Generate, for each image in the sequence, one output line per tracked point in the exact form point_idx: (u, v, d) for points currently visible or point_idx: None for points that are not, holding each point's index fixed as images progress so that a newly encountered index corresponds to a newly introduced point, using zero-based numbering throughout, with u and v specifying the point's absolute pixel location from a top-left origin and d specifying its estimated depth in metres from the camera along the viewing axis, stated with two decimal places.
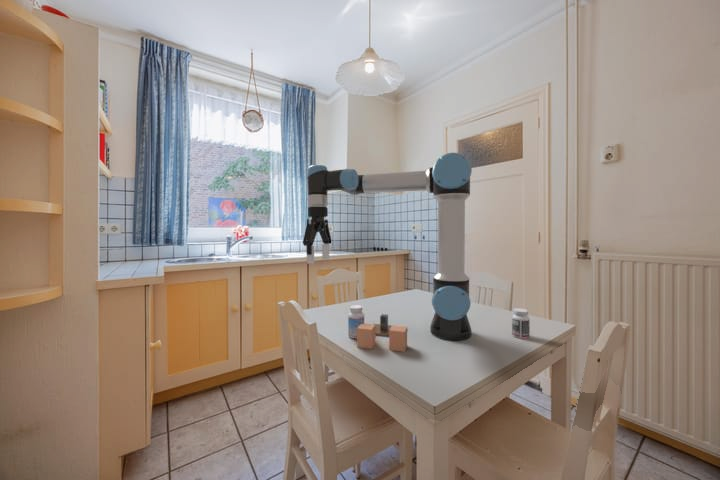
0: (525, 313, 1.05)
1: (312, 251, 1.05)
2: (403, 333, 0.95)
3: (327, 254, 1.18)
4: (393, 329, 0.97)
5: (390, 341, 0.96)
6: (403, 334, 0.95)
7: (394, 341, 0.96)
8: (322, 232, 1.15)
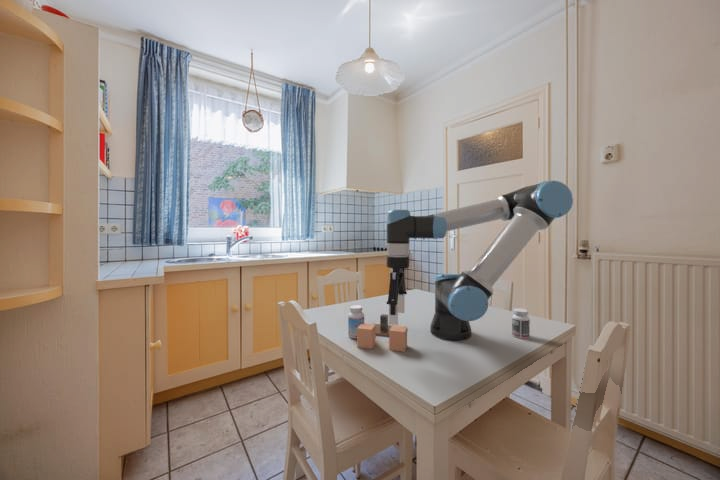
0: (525, 313, 1.05)
1: (396, 311, 0.91)
2: (403, 333, 0.95)
3: (402, 307, 1.04)
4: (393, 329, 0.97)
5: (390, 341, 0.96)
6: (403, 334, 0.95)
7: (394, 341, 0.96)
8: None
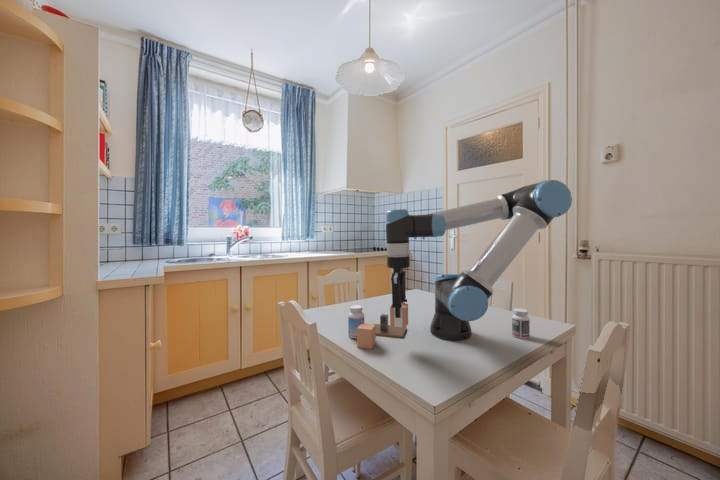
0: (525, 313, 1.05)
1: (401, 313, 0.94)
2: (404, 309, 0.95)
3: None
4: None
5: (391, 318, 0.96)
6: (404, 310, 0.95)
7: None
8: None
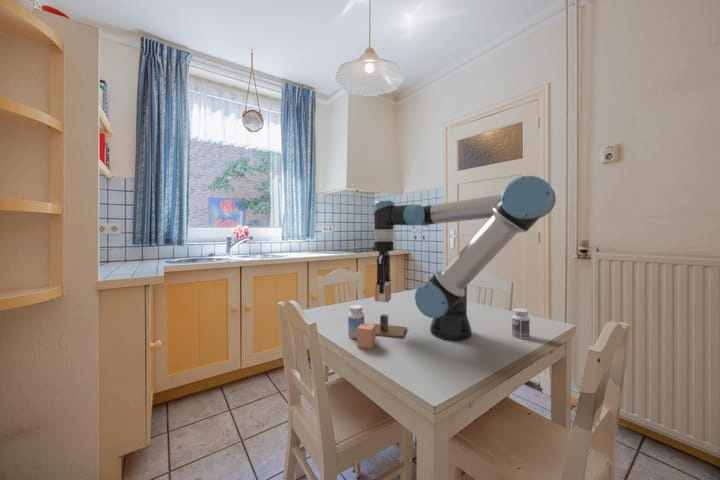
0: (525, 313, 1.05)
1: (384, 290, 1.10)
2: (387, 286, 1.10)
3: None
4: None
5: (376, 293, 1.12)
6: (387, 287, 1.10)
7: None
8: None
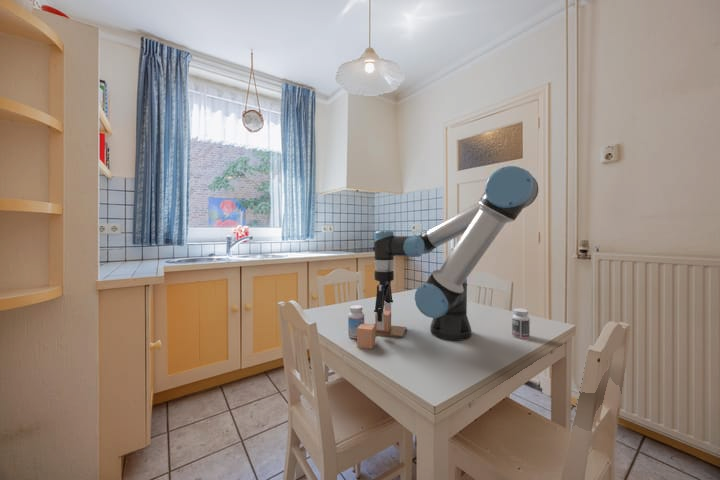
0: (525, 313, 1.05)
1: (382, 318, 1.07)
2: (387, 316, 1.11)
3: None
4: None
5: (376, 323, 1.12)
6: (387, 317, 1.11)
7: None
8: (386, 293, 1.17)
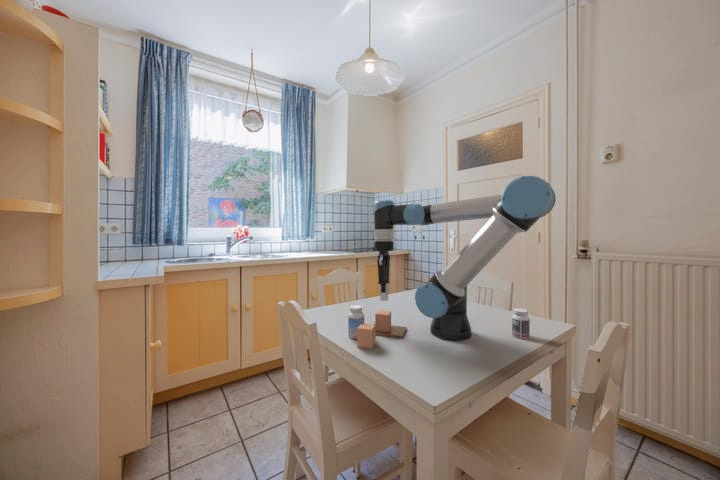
0: (525, 313, 1.05)
1: (386, 289, 1.12)
2: (387, 316, 1.11)
3: None
4: (379, 313, 1.13)
5: (376, 323, 1.12)
6: (387, 317, 1.11)
7: (379, 323, 1.12)
8: None
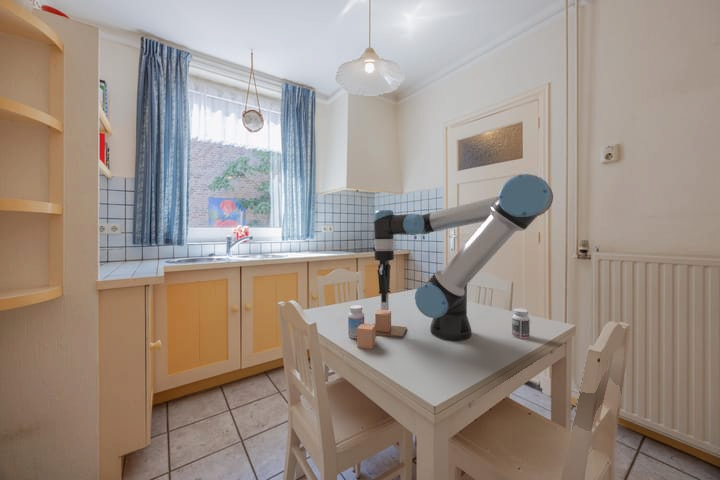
0: (525, 313, 1.05)
1: (386, 299, 1.12)
2: (387, 316, 1.11)
3: None
4: (379, 313, 1.13)
5: (376, 323, 1.12)
6: (387, 317, 1.11)
7: (379, 323, 1.12)
8: None
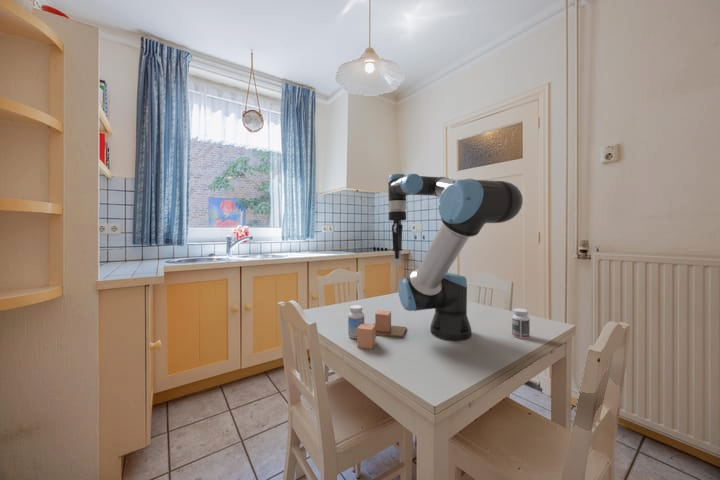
0: (525, 313, 1.05)
1: (399, 255, 1.23)
2: (387, 316, 1.11)
3: None
4: (379, 313, 1.13)
5: (376, 323, 1.12)
6: (387, 317, 1.11)
7: (379, 323, 1.12)
8: None
